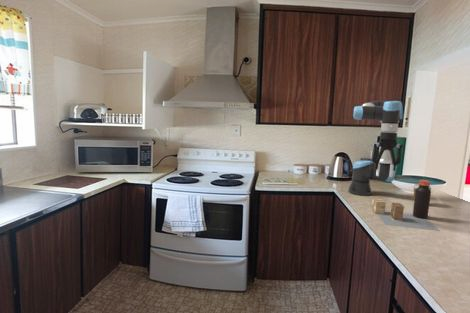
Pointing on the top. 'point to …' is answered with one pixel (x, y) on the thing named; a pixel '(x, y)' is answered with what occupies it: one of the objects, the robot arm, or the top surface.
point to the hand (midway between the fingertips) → (384, 176)
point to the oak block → (378, 206)
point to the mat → (408, 221)
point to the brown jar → (416, 188)
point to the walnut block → (397, 211)
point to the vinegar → (422, 200)
